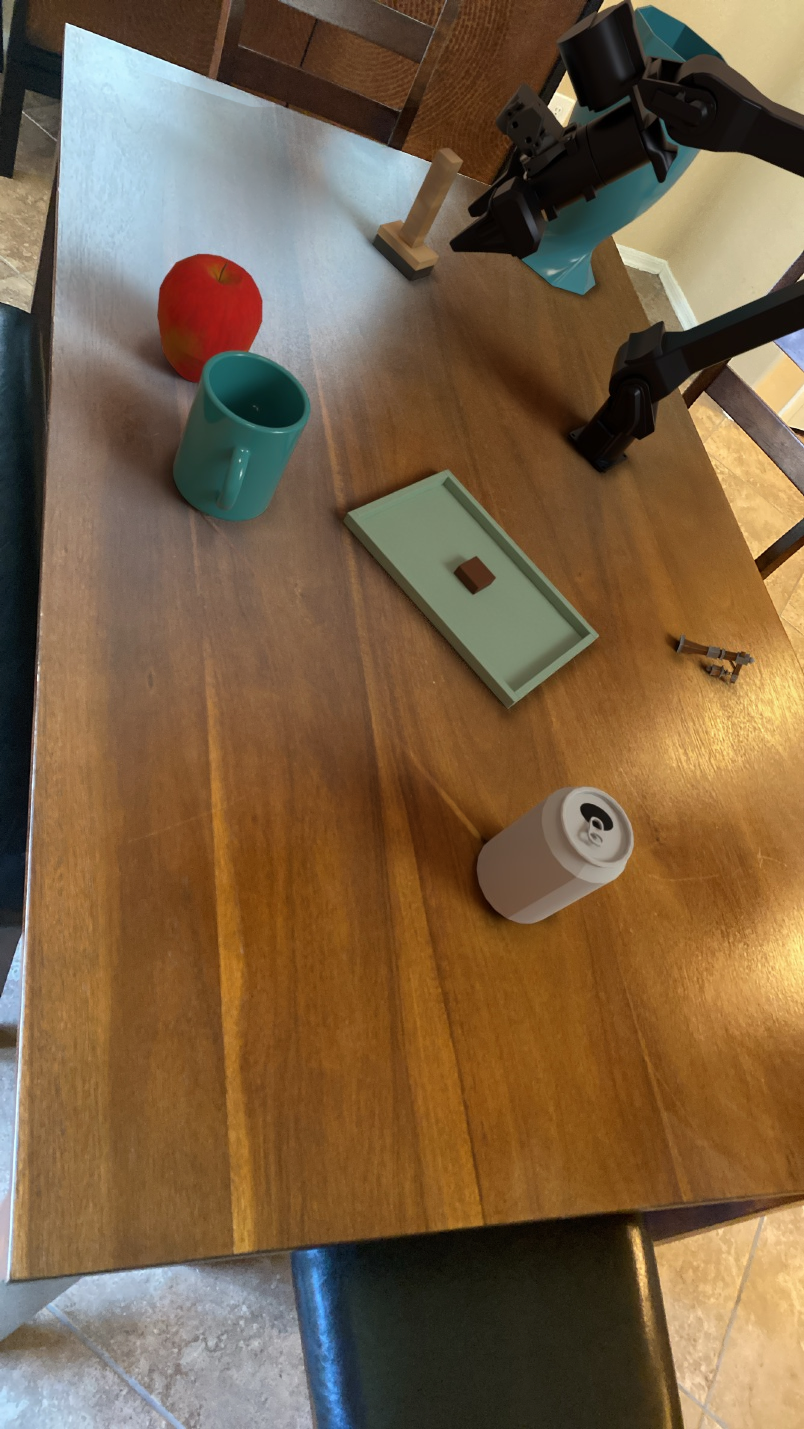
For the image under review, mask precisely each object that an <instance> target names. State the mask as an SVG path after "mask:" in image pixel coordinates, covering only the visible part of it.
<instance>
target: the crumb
mask: <svg viewBox="0 0 804 1429" xmlns="http://www.w3.org/2000/svg"><path fill="white" fill-rule="evenodd" d="M454 574H455V575H456V576H457V577H458V579H459V580H460V581H461V582H462V583H463V584H464V585H465V586H466V587H467V589H468V590H469V591H470V592H471V593H472V594H473V595H474V594H476V593H477V592H479V591H481V590H482V589H484V588H486V587H487V586H489V585H491V583H492V582H493V581H494V580H495V579H496V577H495V576H494V575H493V573H492V572H491V571H490V570H489V569H488V568H487V567H486V566H485V565H484V563H483V562H482V561H481V560H480V559H479V558H478V557H477V556H475V557H473V558H472V559H470V560H468V561H466V562H464V563H463V564H461V565H459V566H458V567H457V569H456V570H455V571H454Z"/></svg>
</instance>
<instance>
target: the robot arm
mask: <svg viewBox="0 0 804 1429" xmlns="http://www.w3.org/2000/svg"><path fill="white" fill-rule="evenodd" d="M634 11H635V9H634V6H633V3H632V0H622V1H620V2H618V3H617V4H613V5H610V6H608V7H606V8H604V9H602V10H601V11H599V12H597V11H596V10H595V11H594V12H592V13H590V14H589V15H588V16H586V17H584V18H583V19H582V20H579V22H577V23H576V24H574V25H572V27H570V28H569V29H568V30H567V31H565V32H564V33H563V34H562V35H561V36H560V37H559V38H558V39H557V40H556V42H555V43H556V46H557V48H558V52H559V54H560V57H561V59H562V62H563V65H564V67H565V70H566V73H567V75H568V78H569V81H570V83H571V85H572V89H573V92H574V94H575V97H576V101H577V100H578V103H579V105H580V107H586V106H587V107H588V109H589V111H592V110H593V111H594V112H595V113H597V112H601V111H603V110H605V109H607V108H609V107H611V106H613V105H614V104H616V103H617V102H619V101H620V100H622V99H623V98H625V97H627V96H628V95H629V97H630V100H628V101H626V102H624V103H622V104H621V105H619V106H617V107H615V108H614V109H612V110H610V111H608V112H607V113H605V114H603V115H601V116H600V117H598V118H596V119H594V120H593V121H591V122H589V123H587V124H586V125H584V126H581V123H580V122H579V123H578V124H576V122H573V123H571V124H569V125H568V124H567V125H568V126H567V125H565V126H563V125H562V124H561V122H560V121H559V120H558V119H557V117H556V116H555V114H554V113H553V111H552V110H551V109H550V108H549V106H547V104H546V103H545V102H544V101H543V100H542V99H541V98H540V97H539V95H538V94H537V93H536V92H535V91H534V89H532V87H531V86H530V85H528V84H527V83H526V82H522V83H521V84H520V86H519V87H518V89H517V90H516V91H515V92H514V94H513V95H512V96H511V97H510V98H509V100H508V101H507V102H506V104H505V105H504V106H503V107H502V109H501V110H500V111H499V114H498V115H497V117H496V118H495V120H494V122H495V126H496V127H497V129H498V130H499V132H500V133H501V134H502V135H504V136H507V137H508V138H509V139H510V140H511V141H512V142H513V143H514V145H515V146H516V147H515V149H514V151H513V153H512V155H511V159H510V161H509V165H508V168H507V170H506V171H504V173H503V174H502V175H501V176H500V177H498V178H497V179H496V181H494V182H493V183H492V184H491V185H490V186H489V187H488V188H487V189H486V190H485V191H483V193H482V194H480V195H479V196H478V197H477V198H476V199H475V200H474V201H473V202H472V203H470V205H469V206H468V207H467V212H468V214H469V216H470V217H471V218H476V219H475V220H474V221H472V222H471V223H470V224H469V225H467V226H466V227H465V228H464V229H463V230H461V231H460V232H458V234H457V235H455V236H454V237H453V238H452V239H450V241H449V247H450V248H451V251H452V252H454V253H484V254H486V253H487V254H502V255H511V257H513V258H518V259H519V260H520V261H522V260H521V259H523V258H525V257H527V256H529V255H531V254H533V253H535V252H537V250H538V248H539V245H540V243H541V240H542V237H543V234H544V232H545V229H546V226H547V224H546V221H545V220H546V219H548V221H549V222H550V221H552V220H554V219H556V218H558V216H559V213H560V210H561V209H563V208H565V207H567V206H569V205H571V204H573V203H575V202H576V201H578V200H580V199H582V198H584V197H585V199H586V202H589V201H591V200H593V199H595V198H596V197H597V193H598V190H600V189H601V188H603V187H605V186H607V185H609V184H611V183H613V182H615V181H617V180H619V179H621V178H622V177H624V176H626V175H628V174H630V173H632V172H634V171H636V170H638V169H640V168H642V167H644V166H646V165H647V164H649V163H652V166H653V169H654V172H655V175H656V178H657V181H658V182H659V183H663V182H664V181H665V179H666V176H667V173H668V171H669V168H670V166H671V164H672V163H673V161H674V160H675V158H676V157H677V156H678V151H679V146H678V145H675V144H672V143H670V142H668V141H667V140H666V136H665V133H664V130H663V127H662V124H661V121H660V118H661V119H662V120H664V124H665V128H666V131H667V134H668V135H669V137H670V138H671V139H672V140H673V141H675V142H676V143H678V144H679V145H682V146H686V147H691V148H696V149H701V151H705V152H713V153H736V154H737V153H738V154H743V155H748V156H751V157H753V158H757V159H758V160H761V161H763V162H766V163H768V164H769V165H772V166H774V167H777V168H780V169H782V170H783V171H786V172H789V173H791V174H793V175H796V176H799V177H800V178H804V114H803V113H801V112H798V111H796V110H794V109H791V108H789V107H787V106H784V105H782V104H780V103H778V102H775V101H773V100H771V99H770V98H769V97H767V95H764V93H762V92H761V91H760V90H759V89H758V87H756V86H754V84H753V83H752V82H750V81H749V80H748V79H747V78H746V77H745V76H743V74H741V73H740V72H739V71H737V70H736V69H735V68H733V67H732V66H731V65H729V64H728V65H727V64H726V63H725V62H723V61H722V60H721V59H719V58H717V57H716V56H712V55H707V54H702V55H697V56H696V57H693V58H692V59H690V60H688V61H686V62H682V61H676V60H671V59H666V58H661V57H656V56H650V55H649V56H647V57H646V55H645V52H644V49H643V46H642V42H641V39H640V36H639V33H638V30H637V27H636V22H635V13H634ZM647 110H649V111H650V112H651V113H648V111H647ZM543 212H544V214H545V216H546V218H545V217H544V214H543ZM801 330H804V278H802V279H799V280H798V281H795V282H793V283H791V284H789V285H786V286H784V287H782V288H779V289H777V290H775V291H772V292H771V293H768V294H766V295H764V296H761V297H759V298H757V299H754V300H752V301H750V302H748V303H745V304H743V305H741V306H739V307H736V308H733V309H731V310H729V311H727V312H725V313H723V314H720V315H719V316H716V317H714V318H711V319H708V320H706V321H703V322H702V323H700V324H698V325H695V326H693V327H690V328H688V329H686V330H681V331H680V330H679V331H678V330H677V331H674V330H673V331H671V330H669V331H667V329H666V325H665V321H664V320H660V321H658V322H655V323H654V324H652V325H651V326H650V327H648V328H646V329H644V330H641V331H638V332H637V331H636V332H630V333H629V336H628V340H627V341H625V342H623V343H622V344H621V345H620V346H619V347H618V350H617V351H616V353H615V356H614V359H613V362H612V368H611V372H610V378H609V382H608V393H609V396H608V398H607V399H606V400H605V401H604V403H603V404H602V405H600V407H599V409H598V410H597V411H596V413H594V415H593V416H592V417H591V419H590V420H589V421H588V423H587V424H586V425H584V426H581V427H578V428H577V429H575V430H572V431H571V432H569V433H568V435H567V437H568V439H569V440H570V441H571V442H572V443H573V444H574V446H576V447H577V448H578V449H579V450H580V452H581V453H582V454H583V455H584V456H585V457H586V459H588V460H589V461H590V463H591V464H593V466H595V467H596V469H597V470H598V471H599V472H600V473H602V474H603V473H606V472H608V471H609V470H612V469H614V468H615V467H617V466H619V465H621V464H623V463H625V462H626V461H627V460H628V458H629V457H628V455H627V454H626V453H625V451H626V450H627V449H628V448H629V447H630V446H631V444H632V443H633V442H634V441H635V440H638V441H641V440H643V439H645V438H647V437H649V436H650V435H653V434H654V432H655V431H656V424H657V417H658V409H659V403H660V401H662V400H663V399H665V398H667V397H668V396H670V395H671V394H672V393H674V392H675V391H676V390H677V389H678V388H679V387H680V386H681V385H682V384H684V383H685V382H686V381H687V380H689V379H690V378H691V377H692V376H693V375H695V374H696V373H699V372H701V371H703V370H706V369H709V368H711V367H713V366H716V365H718V364H720V363H721V364H722V363H723V362H725V361H728V360H731V359H733V358H735V357H738V356H741V355H743V354H745V353H747V352H750V351H752V350H755V349H757V348H760V347H762V346H764V345H768V344H770V343H772V342H775V341H777V340H780V339H781V338H784V337H787V336H789V335H792V334H795V333H797V332H799V331H801Z"/></svg>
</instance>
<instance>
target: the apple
mask: <svg viewBox="0 0 804 1429" xmlns="http://www.w3.org/2000/svg"><path fill="white" fill-rule="evenodd" d="M158 288H159V289H158V290H159V291H158V299H157V300H158V303H157V312H156V313H157V314H156V317H157V323H158V324H157V325H158V331H159V337H160V345H161V348H162V352H163V354H164V356H165V358H166V359H167V361H168V362H169V363H170V365H171V367H173V370H175V371H176V373H178V374H179V376H180V377H182V378H183V379H184V380H187V381H189V382H192V383H196V384H198V383H199V379H200V376H201V373H202V370H203V367H204V365H205V363H206V362H207V361H208V360H209V359H210V358H211V357H213V356H214V355H216V354H218V353H221V352H225V351H246V352H250V350H251V347H252V345H253V344H254V342H255V340H256V337H257V335H258V334H259V332H260V328H261V326H262V323H263V308H264V307H263V305H264V304H263V303H264V302H263V298H262V295H261V292H260V288H259V287H258V285H257V283H256V281H255V280H254V277H253V275H251V274H250V273H249V272H248V271H247V270H246V269H245V268H244V267H243V266H241V265H239V264H238V263H236V262H234V261H233V260H230V259H229V258H226V257H224V256H222V255H217V254H211V253H196V254H193V255H190V256H187V257H184V258H182V259H180V260H178V261H176V262H175V263H174V265H173V266H171V268H170V270H169V271H168V272H167V273H166V275H164V277H163V280H162V282H161V284H160V286H159V287H158Z"/></svg>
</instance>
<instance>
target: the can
mask: <svg viewBox="0 0 804 1429" xmlns="http://www.w3.org/2000/svg"><path fill="white" fill-rule="evenodd" d="M634 842H635V841H634V830H633V828H632V823H631V821H630V819H629V816H628V815H627V814H626V812H625V810H624V808H623V807H622V806H621V805H620V803H619V802H618V801H617V800H616V799H615V798H613V797H612V796H611V795H610V794H608V793H607V792H606V791H604V790H602V789H599V788H598V787H595V786H587V785H581V786H565V787H561V788H558V789H556V790H554V791H553V792H552V793H551V794H549V795H548V796H547V797H545V798H544V799H543V800H541V801H540V802H539V803H537V804H536V805H534V806H533V807H532V808H530V809H529V810H528V811H527V812H525V813H524V814H523V815H521V816H520V817H519V818H517V819H516V820H515V821H514V822H512V823H511V824H509V825H508V826H507V827H505V828H504V829H502V830H501V831H500V832H499V833H497V834H496V835H495V836H493V837H492V838H491V839H490V840H489V841H488V842H486V843H485V844H484V845H483V846H482V848H481V850H480V852H479V854H478V856H477V864H476V874H477V880H478V885H479V887H480V889H481V891H482V893H483V896H484V898H485V899H486V900H487V902H488V903H489V904H490V905H491V907H492V908H493V909H494V911H496V912H497V913H499V914H500V915H501V916H503V917H504V918H505V919H507V920H510V921H513V922H514V923H518V924H527V925H528V924H532V925H533V924H534V923H537V922H540V921H543V920H545V919H546V918H548V917H550V916H552V915H554V914H556V913H557V912H559V911H561V910H562V909H565V908H567V907H568V906H569V905H572V904H573V903H575V902H578V901H579V900H580V899H582V898H585V897H586V896H587V895H589V894H591V893H593V892H595V891H596V890H599V889H601V888H602V887H604V886H605V885H607V884H609V883H611V882H612V881H614V880H616V879H617V878H618V877H619V876H620V875H621V874H622V873H623V872H624V870H625V868H626V866H627V862H628V860H629V859H630V858H631V855H632V853H633V850H634V846H635V845H634Z"/></svg>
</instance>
